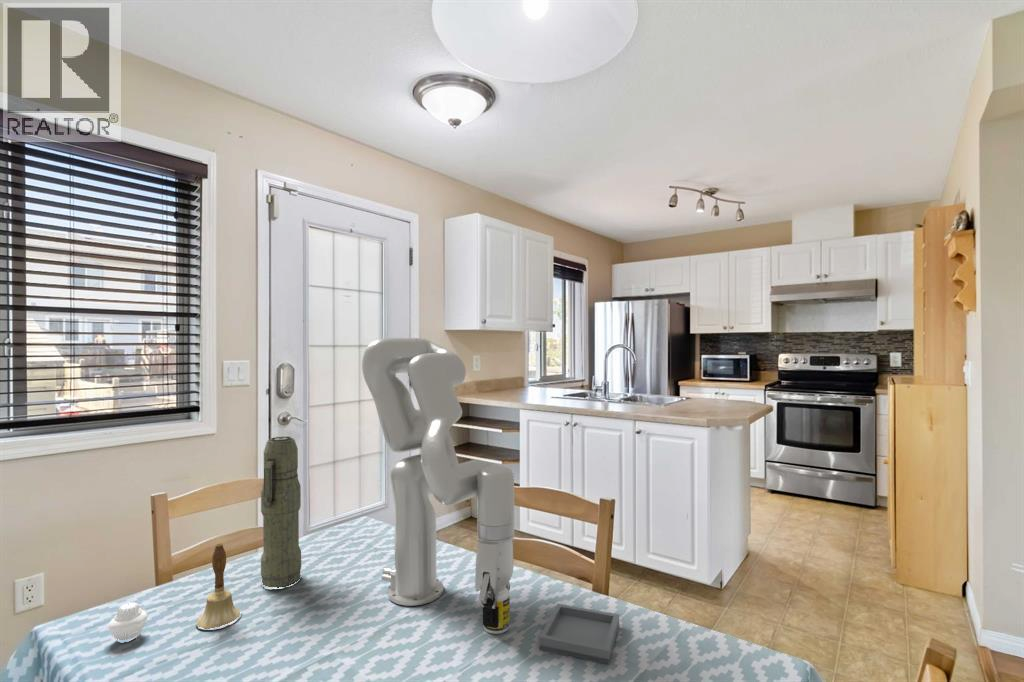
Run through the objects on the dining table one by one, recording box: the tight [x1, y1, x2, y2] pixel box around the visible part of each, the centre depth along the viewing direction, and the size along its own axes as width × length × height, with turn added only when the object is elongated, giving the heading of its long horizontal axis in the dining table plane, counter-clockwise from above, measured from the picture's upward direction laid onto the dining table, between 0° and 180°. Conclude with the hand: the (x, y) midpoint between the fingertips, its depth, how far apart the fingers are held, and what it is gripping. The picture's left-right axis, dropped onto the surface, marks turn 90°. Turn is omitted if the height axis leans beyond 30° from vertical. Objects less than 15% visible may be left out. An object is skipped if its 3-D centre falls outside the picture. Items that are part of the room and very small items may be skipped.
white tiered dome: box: [108, 602, 149, 641], centre depth 100 cm, size 6×6×7 cm
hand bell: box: [196, 543, 241, 629], centre depth 106 cm, size 8×8×16 cm
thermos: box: [260, 436, 302, 588], centre depth 124 cm, size 9×12×35 cm
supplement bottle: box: [482, 584, 511, 635], centre depth 103 cm, size 5×5×10 cm
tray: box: [538, 603, 620, 666], centre depth 99 cm, size 13×13×2 cm
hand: (496, 617), depth 103 cm, fingers closed on supplement bottle, 5 cm apart
